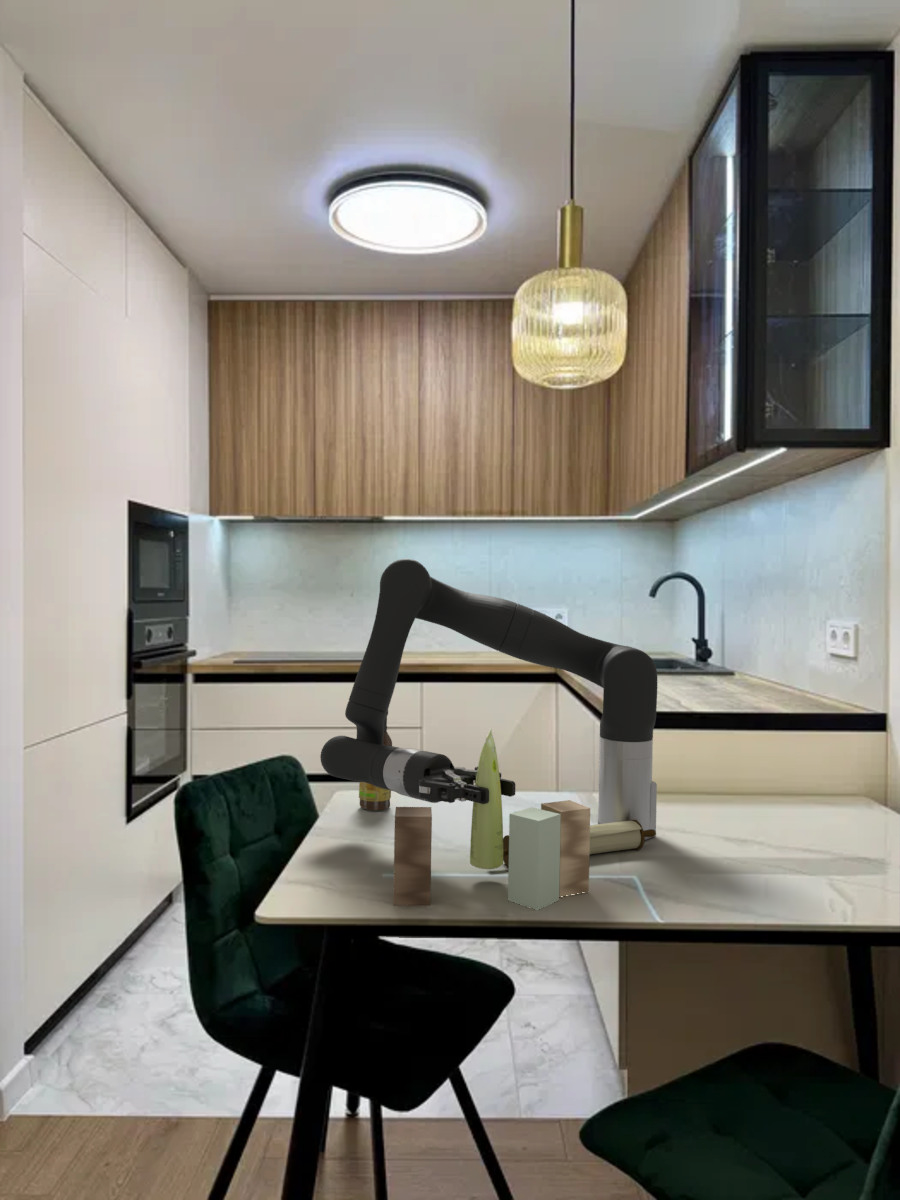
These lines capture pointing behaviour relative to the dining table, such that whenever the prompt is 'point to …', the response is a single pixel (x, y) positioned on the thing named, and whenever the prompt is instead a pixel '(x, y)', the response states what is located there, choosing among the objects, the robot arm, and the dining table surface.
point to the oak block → (572, 845)
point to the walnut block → (412, 856)
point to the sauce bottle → (373, 795)
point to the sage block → (534, 857)
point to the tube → (487, 812)
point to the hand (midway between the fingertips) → (500, 792)
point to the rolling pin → (607, 837)
